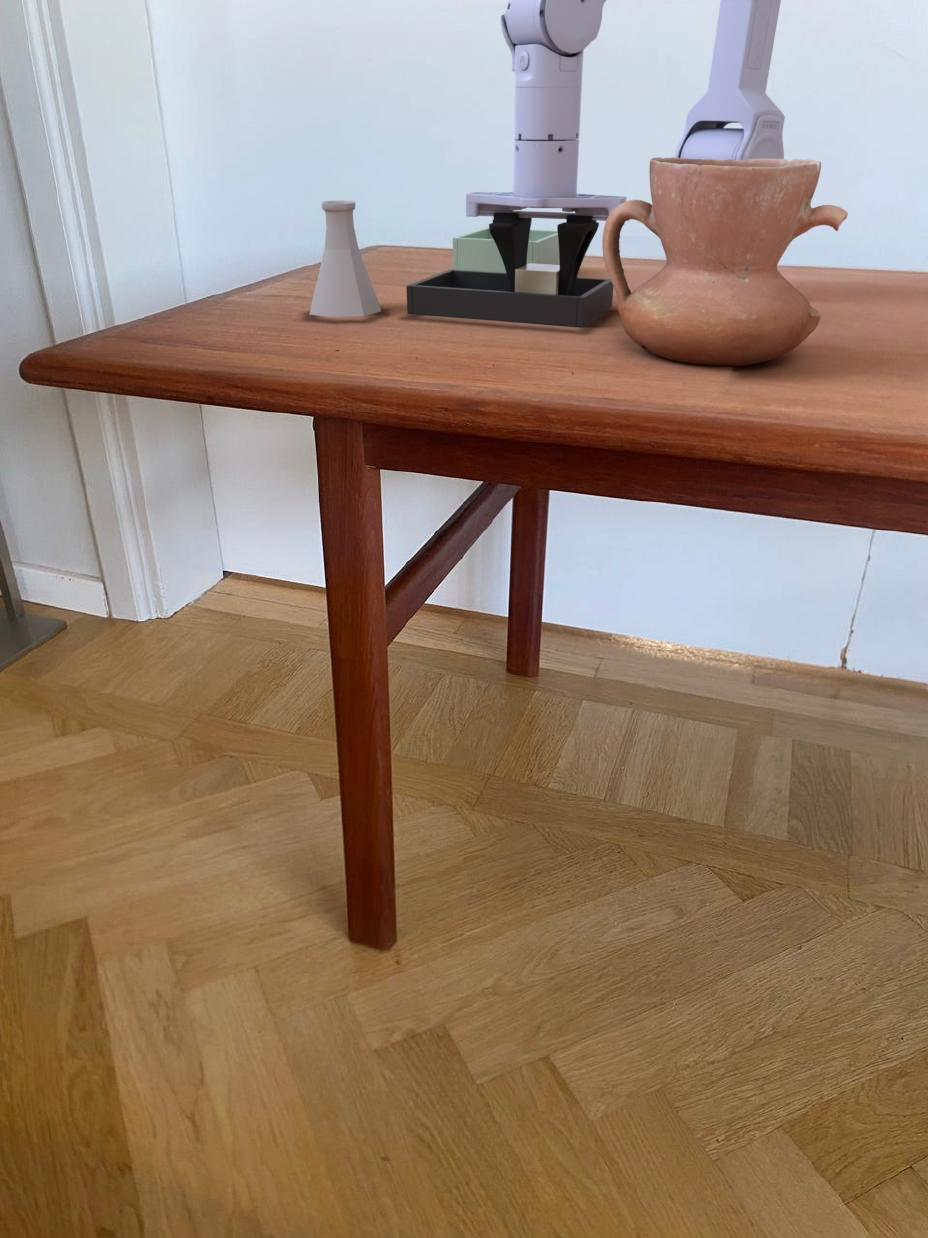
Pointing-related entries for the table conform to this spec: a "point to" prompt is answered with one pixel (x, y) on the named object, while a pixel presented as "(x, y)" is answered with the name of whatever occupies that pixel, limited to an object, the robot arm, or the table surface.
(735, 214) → the ceramic jug
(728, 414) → the table surface
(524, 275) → the block
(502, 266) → the bin
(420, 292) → the pan
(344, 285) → the flask
